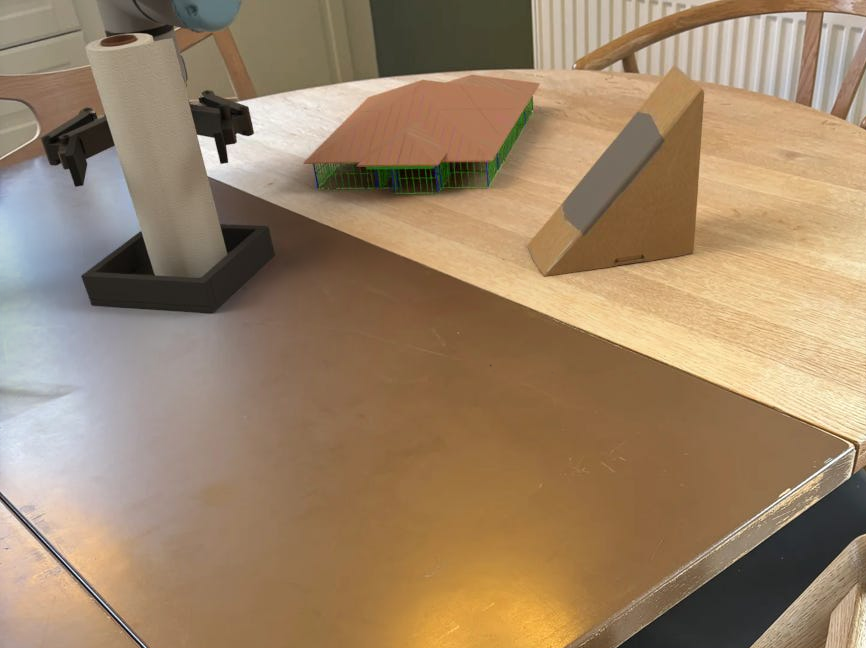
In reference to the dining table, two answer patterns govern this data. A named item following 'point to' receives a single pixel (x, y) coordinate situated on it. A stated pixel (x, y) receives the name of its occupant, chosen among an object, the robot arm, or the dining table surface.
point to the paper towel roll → (158, 152)
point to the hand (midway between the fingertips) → (148, 159)
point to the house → (429, 129)
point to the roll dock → (139, 287)
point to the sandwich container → (633, 190)
